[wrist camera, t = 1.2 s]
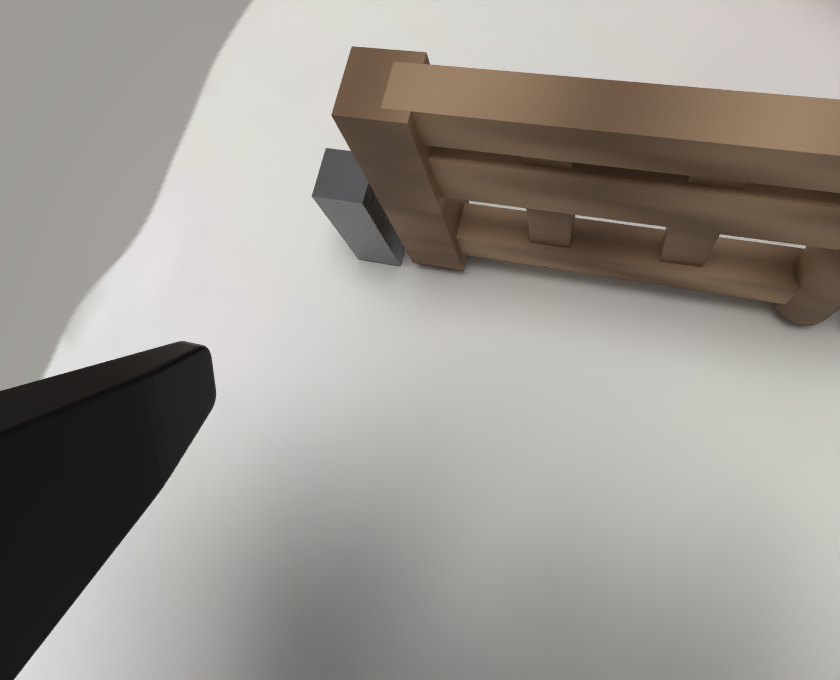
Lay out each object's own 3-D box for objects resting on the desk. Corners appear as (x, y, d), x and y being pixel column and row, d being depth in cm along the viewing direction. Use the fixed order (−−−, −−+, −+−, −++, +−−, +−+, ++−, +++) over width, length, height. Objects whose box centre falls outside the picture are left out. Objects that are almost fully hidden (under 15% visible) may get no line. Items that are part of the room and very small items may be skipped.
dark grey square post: (897, 346, 21) (1127, 219, 12) (358, 259, 25) (255, 120, 17) (901, 295, 21) (1128, 137, 13) (370, 217, 26) (273, 61, 17)
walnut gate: (839, 273, 21) (1026, 101, 13) (833, 329, 21) (1021, 190, 12) (425, 215, 24) (351, 46, 16) (412, 262, 24) (331, 115, 16)
